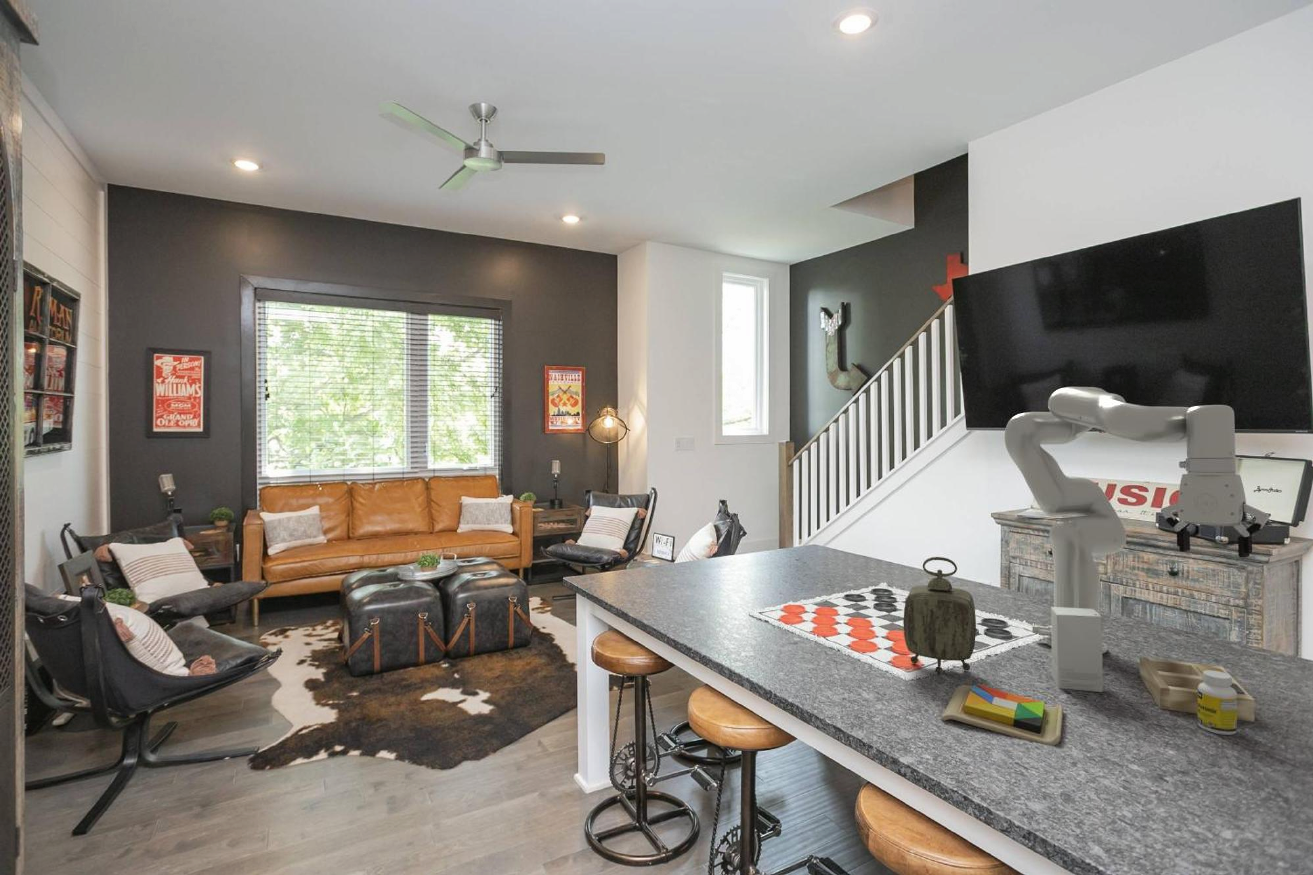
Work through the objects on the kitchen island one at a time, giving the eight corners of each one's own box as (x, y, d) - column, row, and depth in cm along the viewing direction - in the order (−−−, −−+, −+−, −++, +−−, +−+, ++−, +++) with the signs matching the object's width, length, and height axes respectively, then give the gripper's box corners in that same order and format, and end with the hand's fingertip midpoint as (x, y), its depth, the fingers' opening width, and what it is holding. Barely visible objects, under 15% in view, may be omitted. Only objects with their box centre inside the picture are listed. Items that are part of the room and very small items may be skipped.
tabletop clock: (975, 669, 151) (976, 556, 151) (975, 683, 143) (976, 563, 142) (906, 660, 157) (906, 551, 157) (902, 673, 149) (902, 558, 149)
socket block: (1160, 708, 130) (1160, 685, 130) (1139, 675, 147) (1139, 655, 147) (1254, 721, 124) (1254, 698, 124) (1221, 686, 141) (1221, 665, 141)
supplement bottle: (1189, 722, 124) (1190, 668, 124) (1220, 722, 124) (1220, 668, 124) (1213, 735, 118) (1213, 679, 118) (1245, 736, 118) (1245, 679, 118)
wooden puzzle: (1060, 750, 114) (1060, 729, 114) (939, 724, 124) (940, 705, 124) (1063, 713, 129) (1063, 695, 129) (955, 692, 139) (955, 675, 139)
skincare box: (1095, 682, 143) (1095, 608, 143) (1104, 694, 137) (1104, 616, 137) (1049, 677, 146) (1050, 605, 146) (1056, 689, 140) (1057, 613, 139)
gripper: (1152, 467, 141) (1154, 550, 141) (1259, 468, 127) (1261, 561, 126) (1169, 466, 145) (1171, 547, 145) (1274, 467, 131) (1277, 557, 130)
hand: (1213, 553), depth 136 cm, fingers open, 9 cm apart
